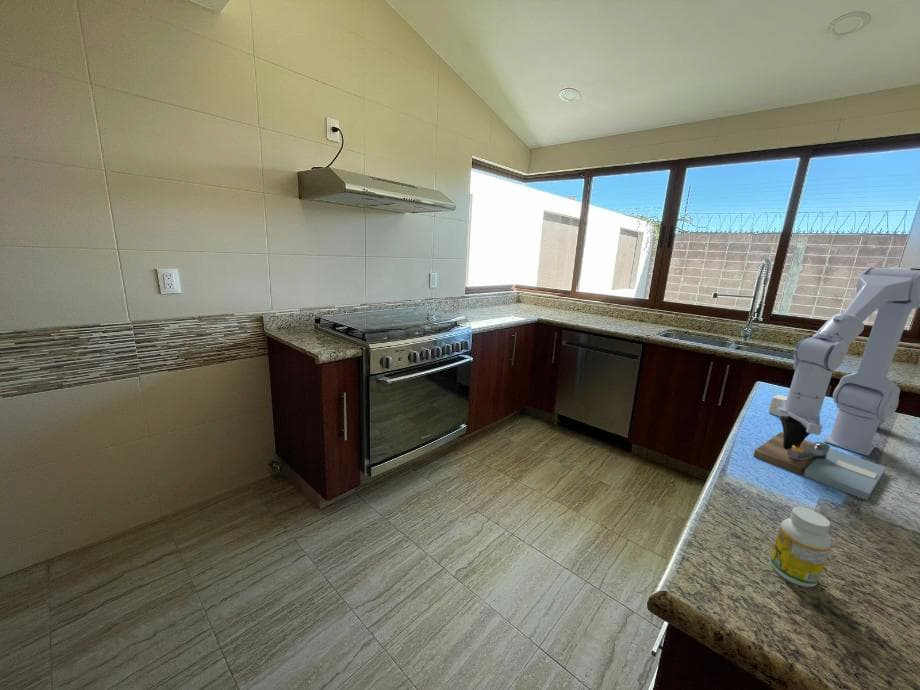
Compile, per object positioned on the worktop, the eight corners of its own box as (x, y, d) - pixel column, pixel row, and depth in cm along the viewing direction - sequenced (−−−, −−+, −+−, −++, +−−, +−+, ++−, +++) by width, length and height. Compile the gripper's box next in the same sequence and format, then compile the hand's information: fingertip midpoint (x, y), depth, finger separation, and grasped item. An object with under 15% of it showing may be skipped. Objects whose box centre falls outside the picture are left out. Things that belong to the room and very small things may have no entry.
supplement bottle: (818, 595, 51) (839, 536, 49) (768, 573, 54) (786, 516, 52) (815, 571, 55) (835, 515, 53) (769, 551, 58) (786, 498, 56)
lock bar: (816, 452, 87) (820, 439, 86) (828, 457, 85) (833, 444, 84) (785, 457, 84) (788, 444, 83) (797, 462, 82) (801, 449, 81)
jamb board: (779, 437, 97) (781, 431, 97) (826, 453, 90) (828, 447, 90) (753, 455, 87) (755, 449, 87) (803, 475, 80) (805, 469, 80)
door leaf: (826, 453, 90) (828, 446, 90) (883, 473, 83) (886, 466, 82) (803, 475, 80) (805, 468, 80) (866, 500, 73) (869, 493, 72)
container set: (789, 420, 108) (794, 403, 107) (767, 413, 113) (772, 396, 111) (812, 407, 119) (817, 391, 118) (791, 401, 123) (796, 386, 122)
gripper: (772, 380, 90) (757, 431, 93) (797, 401, 76) (780, 460, 80) (809, 385, 87) (793, 438, 90) (842, 408, 74) (822, 469, 77)
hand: (789, 449), depth 85 cm, fingers closed, pressing on lock bar
